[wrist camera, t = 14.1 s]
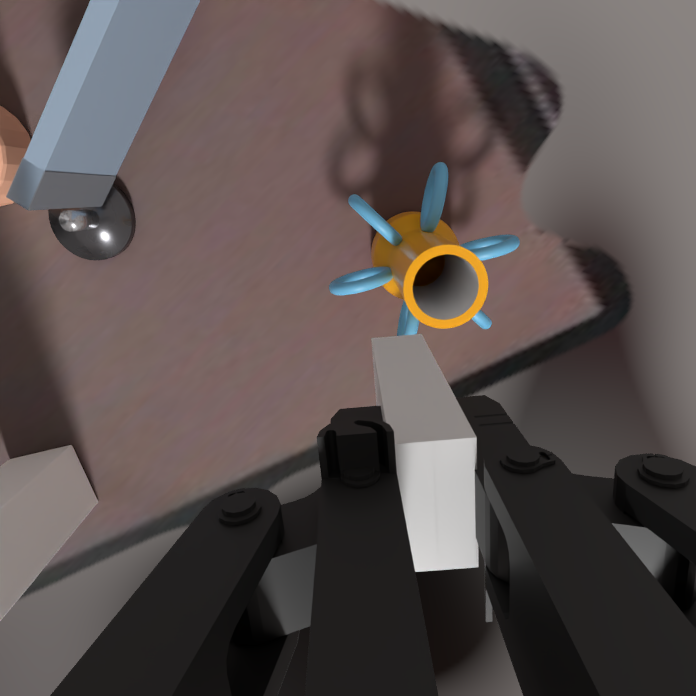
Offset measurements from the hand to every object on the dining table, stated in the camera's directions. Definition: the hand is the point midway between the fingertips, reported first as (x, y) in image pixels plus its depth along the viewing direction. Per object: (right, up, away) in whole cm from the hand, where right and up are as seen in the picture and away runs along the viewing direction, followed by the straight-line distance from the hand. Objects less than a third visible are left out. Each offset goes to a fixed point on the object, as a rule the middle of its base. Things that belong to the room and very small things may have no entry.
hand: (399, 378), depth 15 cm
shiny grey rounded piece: (-20, +11, +22) cm, 32 cm away
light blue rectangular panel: (-16, +17, +19) cm, 30 cm away
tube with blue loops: (+3, +8, +23) cm, 25 cm away
